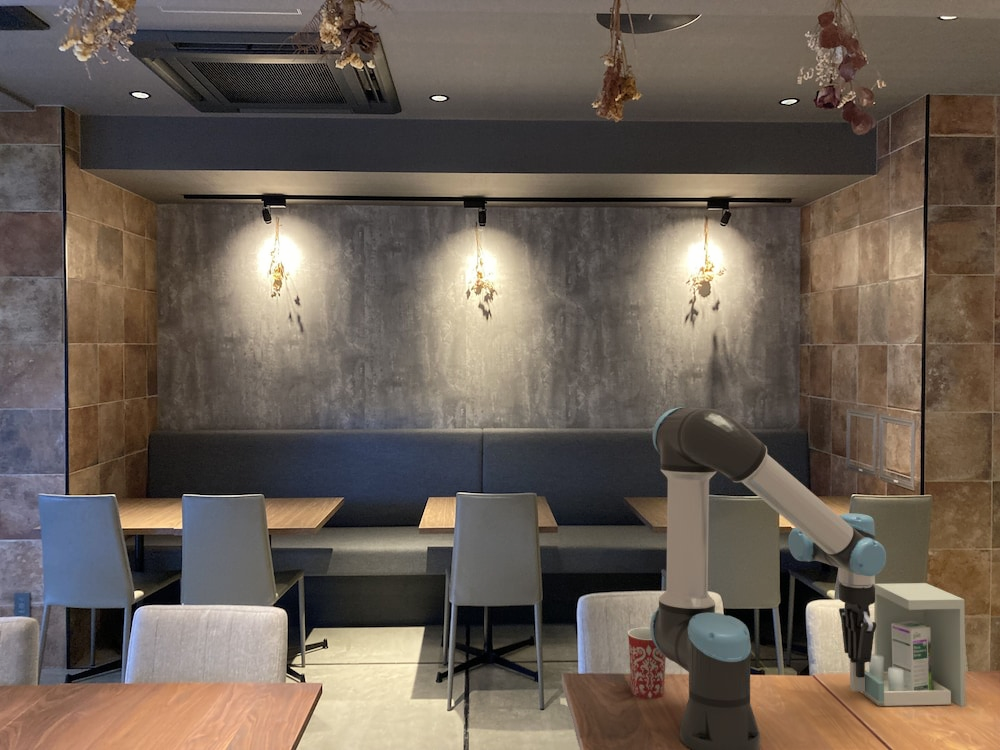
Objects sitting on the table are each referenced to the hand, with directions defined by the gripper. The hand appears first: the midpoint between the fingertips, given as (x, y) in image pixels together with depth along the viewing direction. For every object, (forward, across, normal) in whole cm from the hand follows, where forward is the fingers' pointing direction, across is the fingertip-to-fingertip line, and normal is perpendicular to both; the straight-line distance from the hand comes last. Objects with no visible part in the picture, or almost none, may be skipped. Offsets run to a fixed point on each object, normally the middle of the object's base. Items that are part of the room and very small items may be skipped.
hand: (857, 689), depth 188 cm
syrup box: (0, 0, -12) cm, 13 cm away
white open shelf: (+1, 0, -14) cm, 14 cm away
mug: (+2, +6, +46) cm, 46 cm away
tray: (+1, 0, -10) cm, 10 cm away
